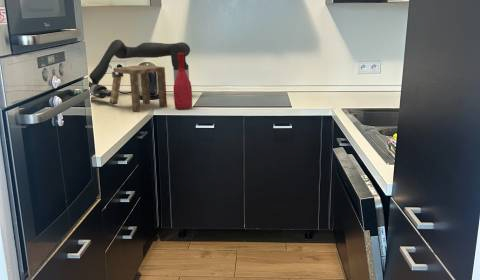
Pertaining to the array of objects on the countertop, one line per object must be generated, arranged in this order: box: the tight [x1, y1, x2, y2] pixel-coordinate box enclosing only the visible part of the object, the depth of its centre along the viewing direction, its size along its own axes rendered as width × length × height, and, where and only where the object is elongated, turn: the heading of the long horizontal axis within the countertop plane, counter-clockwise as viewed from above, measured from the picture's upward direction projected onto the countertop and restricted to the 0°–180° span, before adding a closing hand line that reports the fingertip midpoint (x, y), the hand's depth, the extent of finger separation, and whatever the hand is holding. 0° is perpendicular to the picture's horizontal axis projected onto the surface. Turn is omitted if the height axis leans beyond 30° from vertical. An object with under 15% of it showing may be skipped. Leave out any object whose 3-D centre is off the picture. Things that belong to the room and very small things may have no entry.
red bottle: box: [173, 53, 193, 110], centre depth 259 cm, size 10×10×30 cm
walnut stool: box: [111, 64, 168, 113], centre depth 264 cm, size 21×20×22 cm
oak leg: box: [109, 73, 122, 106], centre depth 268 cm, size 3×3×18 cm
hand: (112, 95), depth 272 cm, fingers closed
